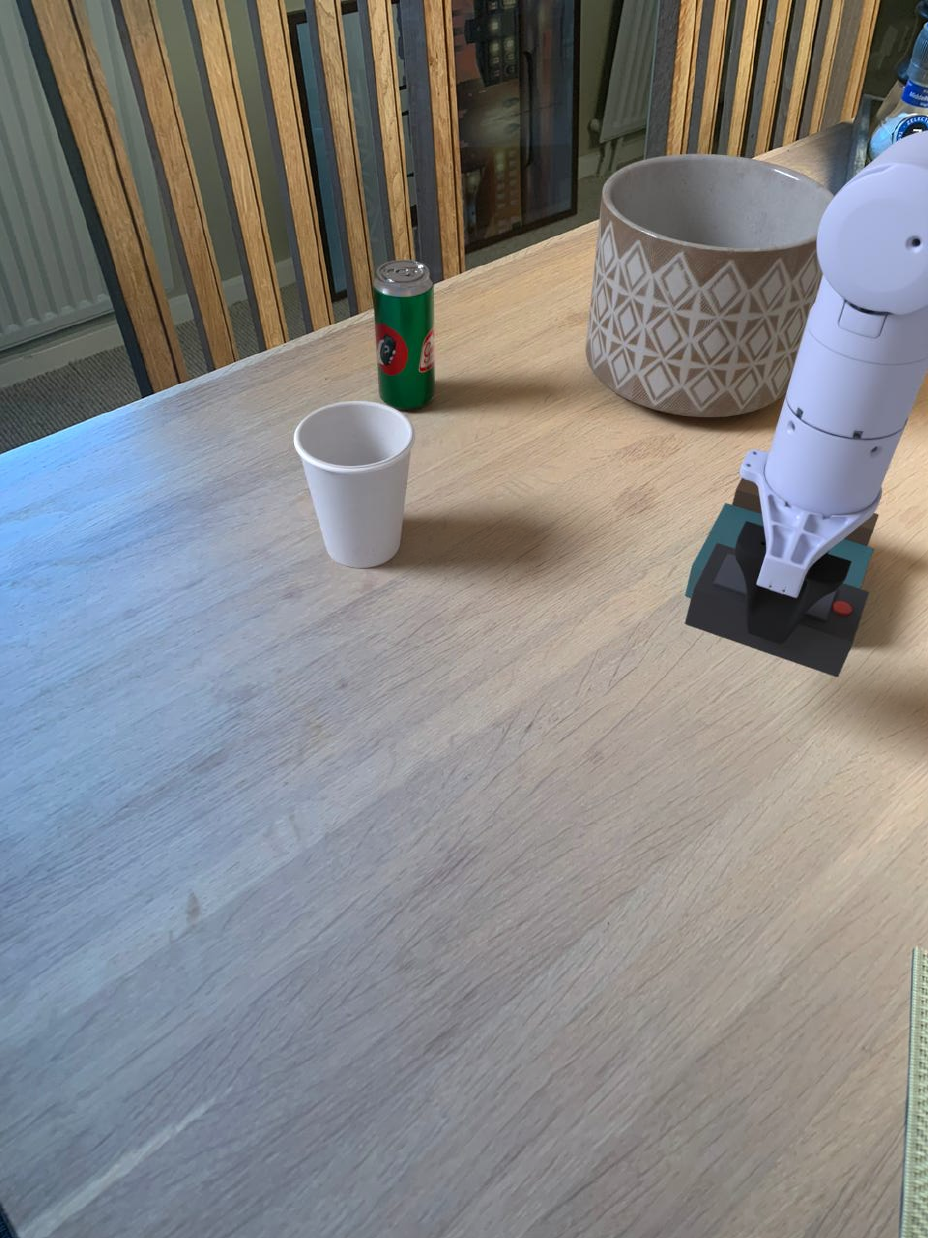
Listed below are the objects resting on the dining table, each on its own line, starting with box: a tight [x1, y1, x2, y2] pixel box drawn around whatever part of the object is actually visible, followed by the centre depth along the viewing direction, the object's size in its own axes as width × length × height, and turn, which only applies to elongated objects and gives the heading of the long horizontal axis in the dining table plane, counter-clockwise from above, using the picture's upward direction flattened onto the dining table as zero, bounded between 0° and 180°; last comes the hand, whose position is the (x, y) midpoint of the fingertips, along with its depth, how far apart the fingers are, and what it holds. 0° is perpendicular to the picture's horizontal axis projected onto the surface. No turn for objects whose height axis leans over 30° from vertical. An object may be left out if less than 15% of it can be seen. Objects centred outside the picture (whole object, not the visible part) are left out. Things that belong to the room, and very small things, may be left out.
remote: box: [684, 543, 870, 678], centre depth 57 cm, size 9×4×3 cm, turn 63°
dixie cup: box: [293, 400, 416, 569], centre depth 72 cm, size 8×8×10 cm
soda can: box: [372, 259, 436, 411], centre depth 85 cm, size 5×5×12 cm
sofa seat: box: [684, 477, 879, 599], centre depth 71 cm, size 10×11×4 cm
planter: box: [585, 153, 836, 418], centre depth 87 cm, size 19×19×16 cm
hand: (777, 606), depth 57 cm, fingers closed on remote, 4 cm apart
